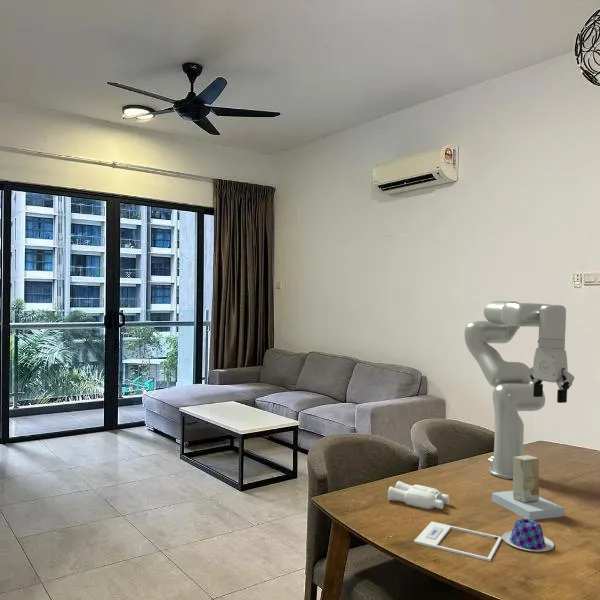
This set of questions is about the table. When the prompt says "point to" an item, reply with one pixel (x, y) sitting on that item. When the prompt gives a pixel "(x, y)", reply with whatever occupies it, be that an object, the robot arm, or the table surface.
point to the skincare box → (526, 478)
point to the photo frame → (438, 531)
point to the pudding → (528, 536)
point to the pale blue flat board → (528, 506)
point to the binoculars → (418, 496)
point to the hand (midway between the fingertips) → (549, 399)
